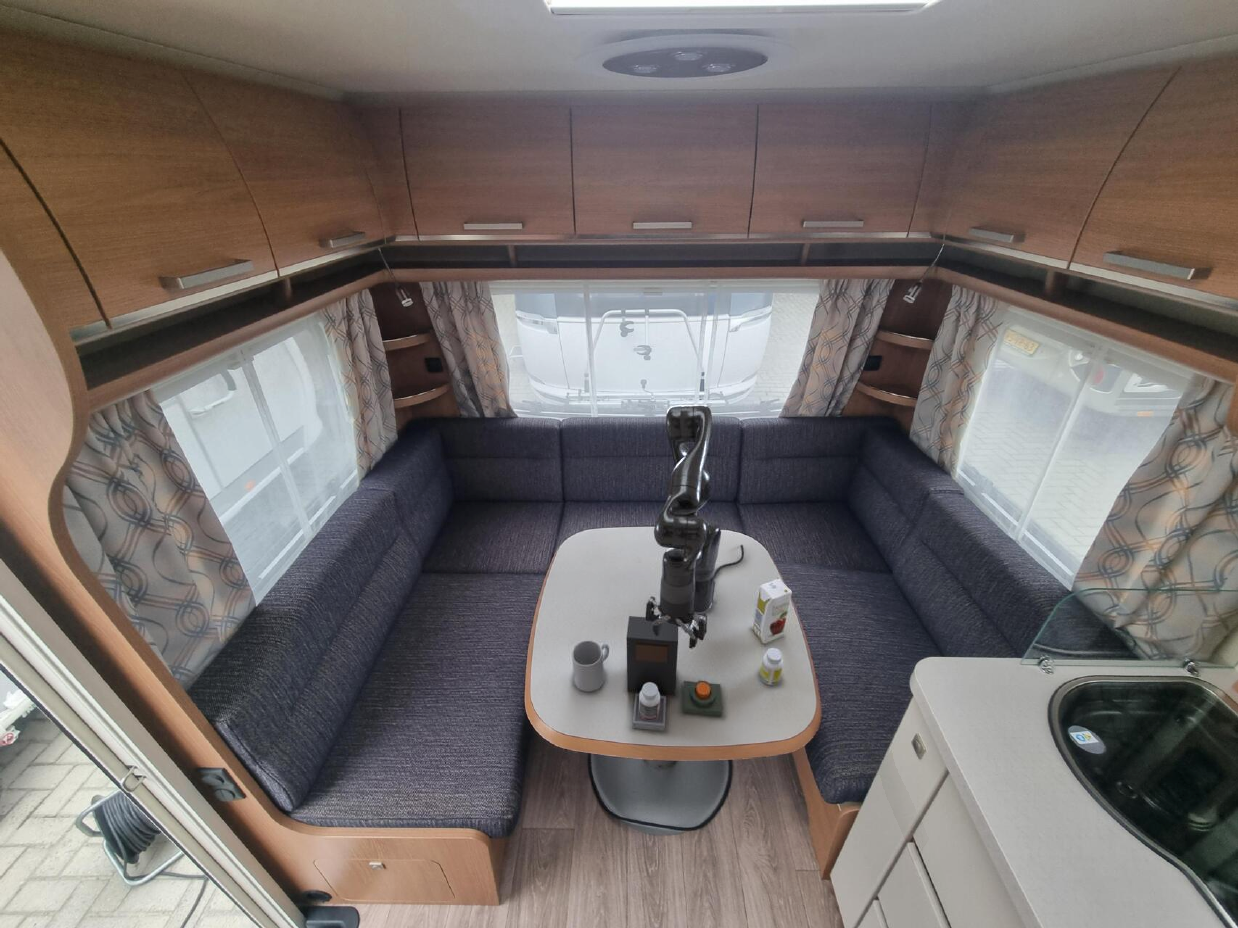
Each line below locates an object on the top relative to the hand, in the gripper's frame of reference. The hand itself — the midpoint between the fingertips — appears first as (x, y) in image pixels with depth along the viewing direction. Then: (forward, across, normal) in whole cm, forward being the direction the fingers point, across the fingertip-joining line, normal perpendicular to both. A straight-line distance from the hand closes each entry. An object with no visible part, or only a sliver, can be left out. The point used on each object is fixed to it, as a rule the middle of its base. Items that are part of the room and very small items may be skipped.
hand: (674, 639), depth 116 cm
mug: (+27, -24, 0) cm, 36 cm away
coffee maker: (+27, -6, 0) cm, 28 cm away
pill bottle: (+26, -5, -4) cm, 27 cm away
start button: (+24, +7, +6) cm, 25 cm away
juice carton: (+28, +18, +36) cm, 48 cm away
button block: (+27, +7, +6) cm, 29 cm away
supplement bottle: (+27, +22, +20) cm, 41 cm away
